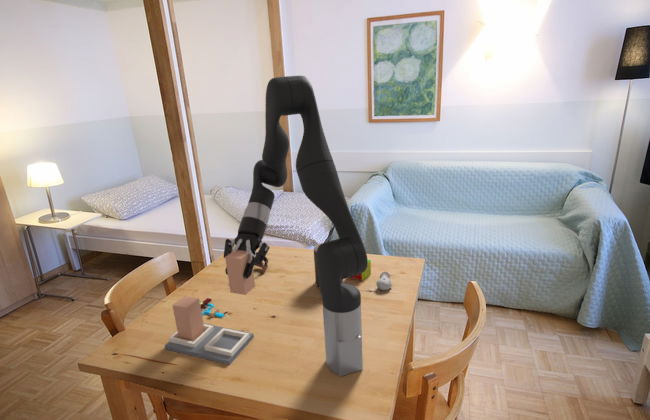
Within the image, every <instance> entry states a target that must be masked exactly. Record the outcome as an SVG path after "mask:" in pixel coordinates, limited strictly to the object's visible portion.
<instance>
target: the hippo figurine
mask: <svg viewBox="0 0 650 420" xmlns="http://www.w3.org/2000/svg"><path fill="white" fill-rule="evenodd" d="M390 278H391V275H390V273H389V272H388V271H383V272H382V273H380V275H379V279H378V280H377V281H376V286H377V288H378V289H379V290H380V291H388V290H390V288H391V287H393V283H392V280H391V279H390Z"/></svg>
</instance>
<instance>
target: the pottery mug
mask: <svg viewBox="0 0 650 420" xmlns="http://www.w3.org/2000/svg"><path fill="white" fill-rule="evenodd" d="M257 253H258V251H256V255H257ZM268 263H269V259H268V257H266V256H265V258H264V259H263V261H262V263H261V264H260V265H258V264H257V265H255V266H254V267H259V268H261V269H262V270H261V274H262V275H263V274H265V273H266V271H267V269H268V266H269V265H268Z"/></svg>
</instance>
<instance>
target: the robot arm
mask: <svg viewBox="0 0 650 420" xmlns="http://www.w3.org/2000/svg"><path fill="white" fill-rule="evenodd" d="M266 85H267V86H266V90H265V115H264V116H265V137H264V144H263V149H262V154H261V155H262V156H261V159H259V160H258V161H257V162H256V163H255V164H254V167H253V172H252V174H253V176H252V177H253V178H252V189H251V194H250V196H249V200H248V202H247V206H245V207H246V208H245V209H244V211H243V215H242V218H241V220H240V223H239V226H238V229H237V235H236V237H235V238H233V239H229V238H226V239H225V242H224V251H223V258H224V259H225V257H226V256H227V255H229V254H230V253H232V252H233V251H237V250H242V251H247V253H249V254H248V255H249V257H248V264H246V267H245V270H244V273H243V277H244V278H247V279H248V278H249V277H250V276H251V273H252V270H253V271H254V267H256V266H255V265H257V264H258V265H260V264H261V263H262V262H264V261H263V259H264V258H265V256H266V255H267V253H268V252H269V250H270V245H269V244H267V243H266V242H262V241H263V239H264V236H265V232H266V229H267V226H268V223H269V220H270V216H271V211H272V206H273V204H274V201H275V193H274V192H273V191H272V190H271V189H269V188H268V187H266V186H264V185H263V184H265V185H267V186H271V187H274V188H280V187H283V186H284V184H286V182H287V178H288V169H287V161H286V160H287V156H288V153H289V149H290V140H289V137H288V135H287V133H286V131H285V129H284V128H283V126H282V125H281V123H280V120H281V117H285V116H292V115H295V116H296V115H299V116H300V117H301V120H302V126H303V134H302V139H301V142H300V145H299V148H298V152H297V154H296V155H297V156H296V160H295V170H296V174H297V176H298V180H299V184H300V187H301V190H302V191H303V192H302V193H304V195H305V196H306V198H308V200H309V201H310V202H311V203H312V204H313V205H314V206H316V208H317V209H319V210H320V211H321V212H322V213H323V214H324V215H325V216H326V217H327V218H328V219H329V220H330V222H331V223H332V225H333V227H334V229H335V231H336V233H337V236H338V238H337V239H333V240H329V241H326V242H321V243H322V244H321V243H319V244H320V245H319V247H318V249H317V254H316V258H317V268H318V275H319V285H320V288H319V291H320V295H321V299H322V300H321V302H322V314H323V316H322V317H323V333H324V347H325V348H324V349H325V359H326V360H325V362H326V366H327V368H328V369H329V370H330V371H332V372H334V373H335V374H336V375H338V377H342V376H343V377H344V376H345V375H346V376H348V375H350V374H353V373H357V372H361V371H363V367H364V365H363V360H364V359H363V333H362V332H363V330H362V327H363V326H362V298H361V297H362V296H361V292H360V289H359V288H357V287H356V286H354V285H353V284H350V283H345V282H343V283H341V280H343V281H344V280H346V279H349V278H352V276H355V275H358V274H361V273H363V272H364V271H365V270H366V269H367V265H368V260H369V259H368V255H367V251H366V248H365V245H364V242H363V240H362V238H361V235H360V233H359V231H358V228H357V226H356V223H355V220H354V218H353V215H352V213H351V211H350V209H349V206H348V202H347V200H346V197H345V194H344V191H343V189H342V184H341V182H340V177H339V173H338V171H337V169H336V164H335V162H334V159H333V156H332V153H331V150H330V148H329V145H328V142H327V138H326V135H325V132H324V129H323V125H322V122H321V116H320V113H319V108H318V104H317V99H316V95H315V91H314V89H313V85H312V83H311V82H310V80H309V78H308V77H306V76H305V75H289V76H276V77H272V78H271V79H269V81H268V83H267V84H266ZM257 250H258V251H257ZM256 252H258V253H257V255H256ZM367 259H368V260H367ZM225 274H226V275H227V276H228V272H227V266H226V267H225Z"/></svg>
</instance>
